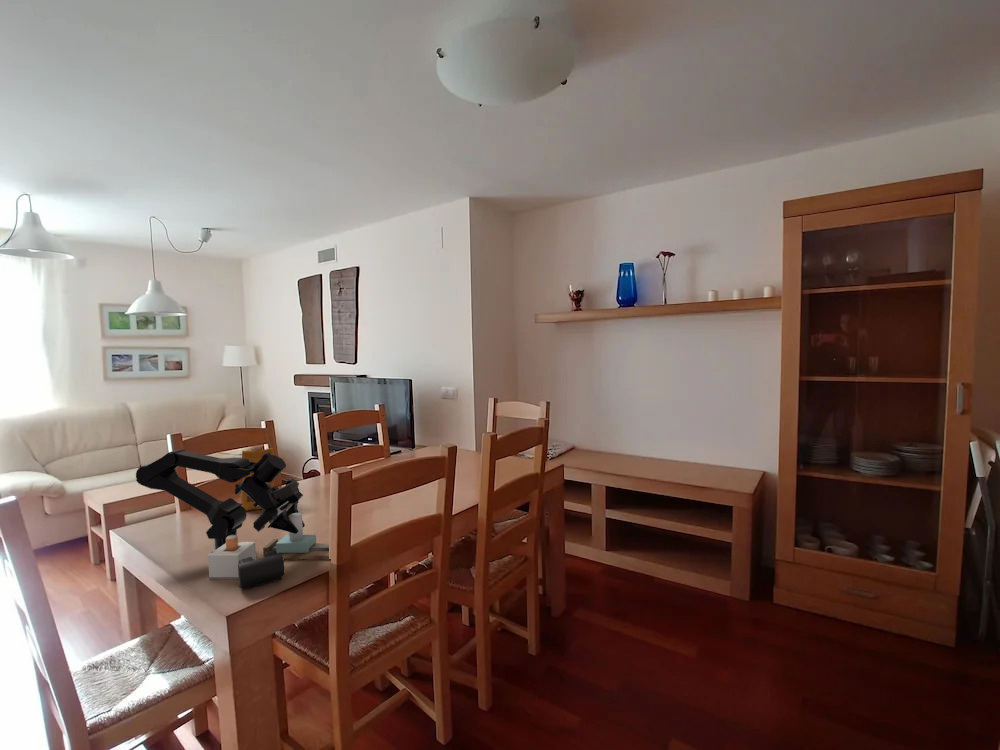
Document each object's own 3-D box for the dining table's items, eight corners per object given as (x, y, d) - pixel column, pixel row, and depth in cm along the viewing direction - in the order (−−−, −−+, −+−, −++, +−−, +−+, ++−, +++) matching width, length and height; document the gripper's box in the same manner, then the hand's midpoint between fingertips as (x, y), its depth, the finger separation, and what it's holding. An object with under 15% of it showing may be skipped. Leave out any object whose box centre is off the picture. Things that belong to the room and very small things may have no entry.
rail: (261, 559, 131) (261, 549, 131) (276, 547, 139) (275, 537, 139) (335, 559, 131) (335, 549, 130) (346, 547, 139) (345, 537, 138)
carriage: (276, 552, 132) (274, 518, 131) (286, 543, 138) (285, 511, 137) (307, 552, 132) (305, 518, 131) (316, 543, 138) (314, 511, 137)
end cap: (241, 595, 113) (239, 569, 112) (237, 583, 118) (236, 558, 118) (285, 582, 119) (284, 557, 118) (280, 572, 124) (278, 547, 124)
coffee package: (243, 504, 178) (240, 448, 177) (278, 500, 182) (275, 445, 181) (238, 513, 169) (234, 454, 167) (275, 508, 173) (272, 450, 172)
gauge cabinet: (209, 579, 121) (207, 555, 120) (228, 564, 129) (227, 542, 128) (239, 579, 120) (237, 555, 120) (256, 564, 128) (255, 541, 128)
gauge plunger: (223, 551, 123) (223, 538, 123) (230, 546, 126) (229, 534, 125) (234, 551, 123) (233, 538, 122) (240, 546, 126) (239, 534, 125)
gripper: (261, 483, 124) (304, 523, 125) (295, 465, 143) (331, 499, 143) (235, 512, 125) (277, 551, 125) (271, 490, 144) (308, 524, 144)
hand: (300, 529), depth 135 cm, fingers closed on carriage, 4 cm apart
